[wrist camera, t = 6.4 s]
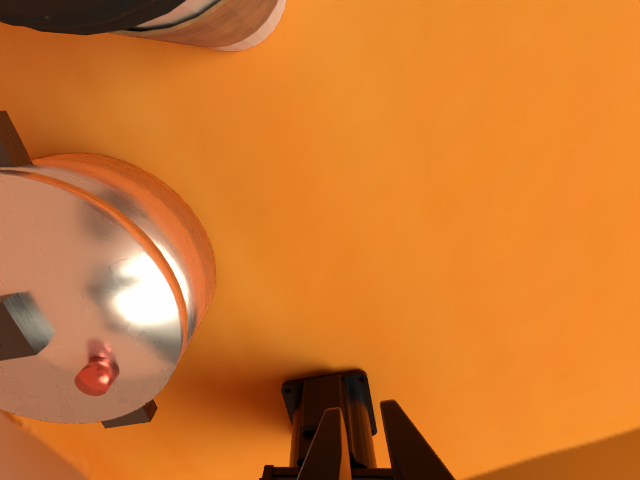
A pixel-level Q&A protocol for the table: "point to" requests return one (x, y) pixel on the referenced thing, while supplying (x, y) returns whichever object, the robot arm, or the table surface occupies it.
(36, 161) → the pot
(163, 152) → the table surface
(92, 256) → the lid
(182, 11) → the coffee cup
